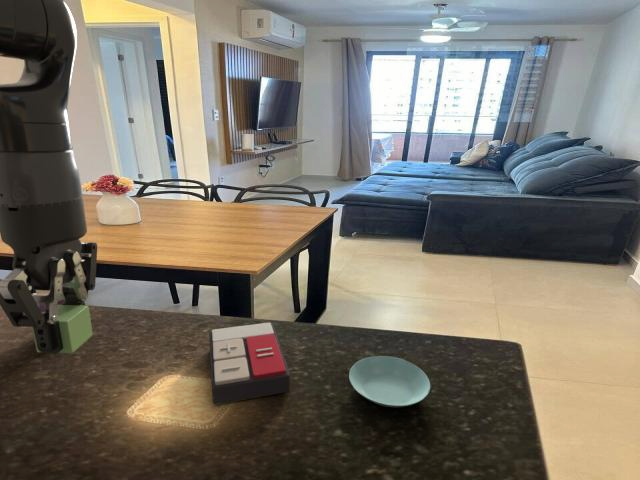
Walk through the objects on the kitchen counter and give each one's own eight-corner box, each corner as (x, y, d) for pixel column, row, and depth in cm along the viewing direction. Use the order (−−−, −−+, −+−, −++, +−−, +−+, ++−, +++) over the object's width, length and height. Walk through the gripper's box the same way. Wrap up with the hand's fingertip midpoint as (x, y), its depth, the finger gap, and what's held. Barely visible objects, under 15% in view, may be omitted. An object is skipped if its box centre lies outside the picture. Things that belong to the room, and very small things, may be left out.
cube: (36, 352, 43) (30, 320, 41) (60, 333, 46) (55, 304, 45) (72, 353, 43) (67, 321, 41) (93, 335, 46) (88, 305, 45)
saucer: (342, 368, 62) (343, 356, 61) (413, 366, 63) (414, 353, 63) (356, 421, 51) (357, 407, 50) (441, 417, 52) (443, 403, 51)
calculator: (211, 384, 51) (208, 326, 65) (213, 409, 53) (210, 347, 66) (290, 370, 54) (272, 318, 68) (290, 395, 56) (272, 339, 69)
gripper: (50, 183, 46) (71, 311, 51) (-64, 207, 33) (-20, 378, 38) (112, 185, 46) (127, 313, 51) (24, 210, 33) (56, 380, 38)
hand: (65, 339), depth 44 cm, fingers closed on cube, 4 cm apart
